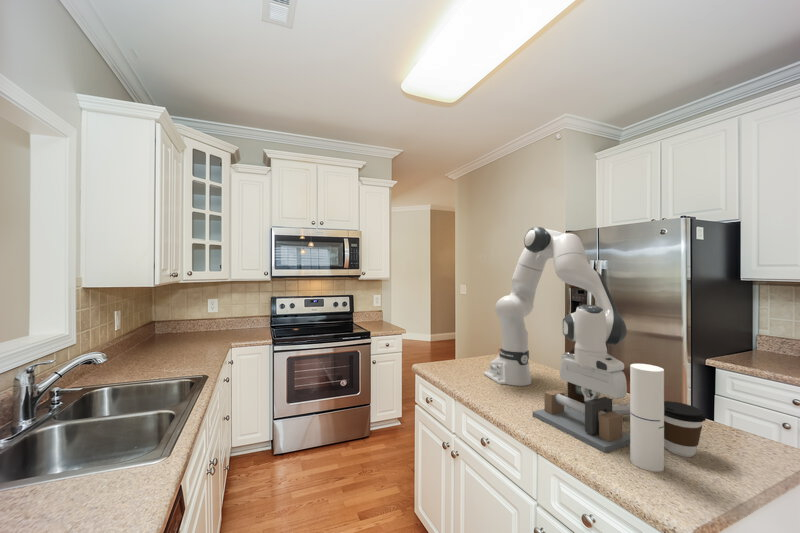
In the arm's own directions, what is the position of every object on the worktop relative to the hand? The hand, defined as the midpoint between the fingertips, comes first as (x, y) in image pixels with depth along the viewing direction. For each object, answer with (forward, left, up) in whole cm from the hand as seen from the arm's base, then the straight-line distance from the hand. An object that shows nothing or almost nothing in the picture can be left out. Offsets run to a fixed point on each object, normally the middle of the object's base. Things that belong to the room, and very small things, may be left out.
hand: (590, 403), depth 106 cm
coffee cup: (+17, +13, -9) cm, 24 cm away
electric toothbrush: (-2, +19, -10) cm, 22 cm away
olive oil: (-19, +20, -9) cm, 29 cm away
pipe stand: (-4, 0, -9) cm, 10 cm away
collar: (+3, 0, -7) cm, 8 cm away
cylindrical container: (+17, -2, -9) cm, 20 cm away
